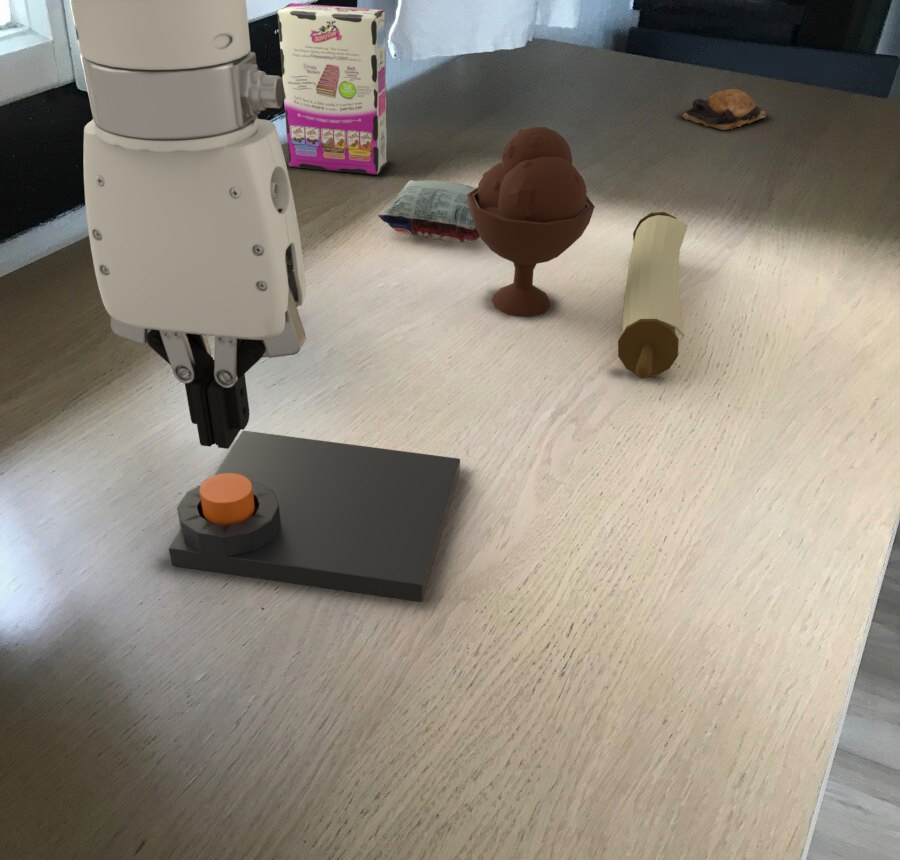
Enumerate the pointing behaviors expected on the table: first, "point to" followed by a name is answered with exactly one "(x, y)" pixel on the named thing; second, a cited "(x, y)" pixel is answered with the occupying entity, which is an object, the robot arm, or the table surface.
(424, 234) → the packaged food
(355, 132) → the candy bar box
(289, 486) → the scale
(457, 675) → the table surface
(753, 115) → the chocolate marshmallow cracker
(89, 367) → the table surface
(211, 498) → the tare button
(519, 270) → the ice cream bowl
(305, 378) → the table surface
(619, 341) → the scroll
